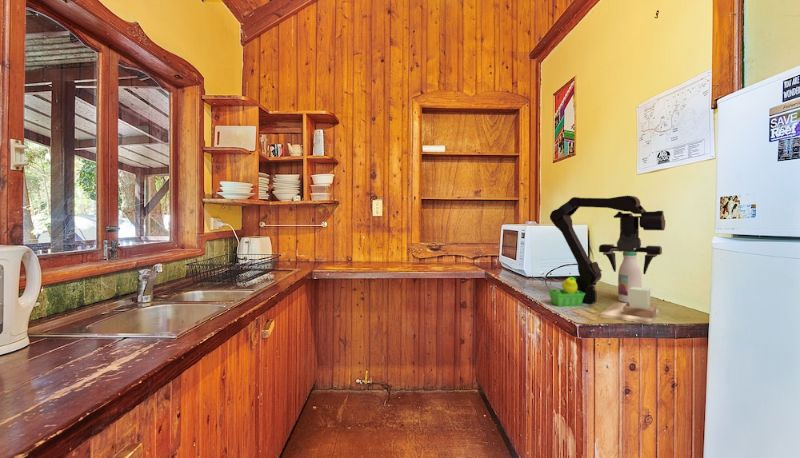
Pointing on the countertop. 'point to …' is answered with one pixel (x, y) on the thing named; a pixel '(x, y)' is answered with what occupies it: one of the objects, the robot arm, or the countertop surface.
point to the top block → (639, 297)
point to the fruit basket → (567, 294)
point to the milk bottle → (628, 276)
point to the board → (617, 313)
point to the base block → (640, 311)
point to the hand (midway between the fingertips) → (629, 272)
